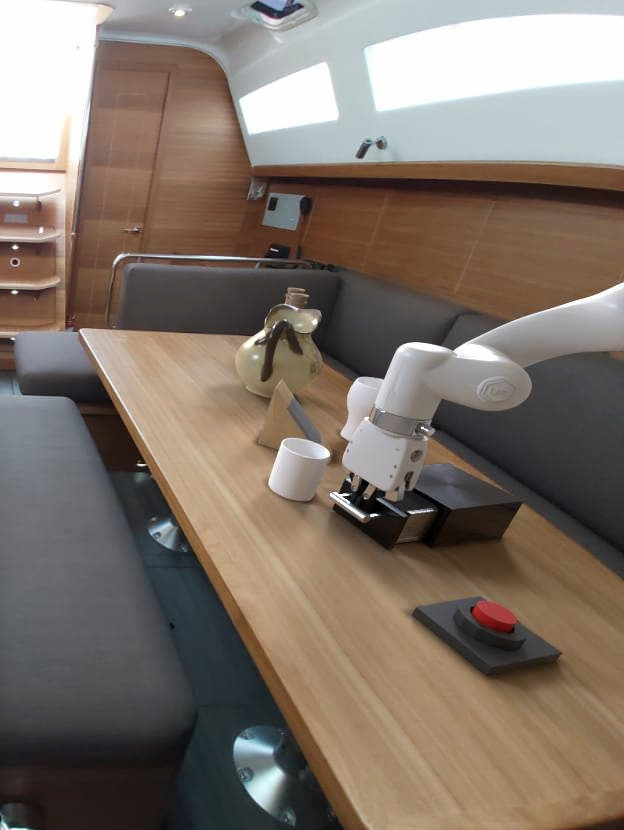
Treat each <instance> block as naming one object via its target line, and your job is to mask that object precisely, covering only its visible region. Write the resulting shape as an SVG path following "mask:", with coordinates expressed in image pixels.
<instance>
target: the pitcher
mask: <svg viewBox="0 0 624 830" xmlns="http://www.w3.org/2000/svg"><path fill="white" fill-rule="evenodd" d="M322 317H323V316H322V314H321V311H320V309H314V308H306V309H298V308H295V307H293V306H290V305H286V304H285V303H279V304H277V305H275V306H273V307H271V308H270V310H269V312H268V313H267V316H266V317H265V320H264V322H263V325H264V326H263V327H264V328H263V329H261V330H260V331H259V332H257V333H256V334H254V335H253V336H251V337H249V338H248V339H246V341H244V342H243V343H242V344H241V345H240V346H239V348H238V350H237V351H236V353H235V362H234V363H235V368H236V371H237V374H238V375H239V378H240V379H241V381H242V382H243V383H244V384H245V389H247V390H248V391H249V392H250V393H252V394H255V395H257V396H260V397H264V398H269V399H272V396H273V393H274V390H275V388H276V387H277V385H278V384H279V382H280V381H281V379H283V381H284V382H285V384H286V385H287V387H288V388H289V390H290V391H291V393H292V394H293V395H296V394H298V393H300V392H302V391H304V390H306V389H307V388H309V387H310V386H311V385H313V384H314V383H315V382H316V381H317V380H318V378H319V377H320V375H321V373H322V371H323V356H322V354H321V351H320V350H319V348H318V347H317V345H316V344H315V342H314V340H313V338H312V334H313V333H314V332H315V331H316V330H317V329H318V325H320V323H321V320H322Z"/></svg>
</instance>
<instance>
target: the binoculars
mask: <svg viewBox="0 0 624 830" xmlns="http://www.w3.org/2000/svg"><path fill="white" fill-rule="evenodd" d="M305 292H306V290H305V289H304V288H300V287H288V288H287V293H285V302H284V304H286V305H290V306H293V307H295V308H298V309H304V308H305V306H306V305H307V304H308V302H307V300H308V299H309V297H310V295H309V294H305Z"/></svg>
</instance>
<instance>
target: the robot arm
mask: <svg viewBox="0 0 624 830" xmlns="http://www.w3.org/2000/svg"><path fill="white" fill-rule="evenodd" d="M590 352H591V353H593V352H594V353H595V352H624V282H621V283H619V284H617V285H615V286H613V287H611V288H608V289H606V290H603V291H602V292H600V293H597V294H594V295H592V296H589V297H585V298H582V299H578V300H574V301H570V302H567V303H564V304H560V305H558V306H555V307H552V308H549V309H545V310H542V311H538V312H534V313H531V314H529V315H526V316H522V317H519V318H517V319H515V320H512V321H510V322H507V323H505V324H502V325H500V326H498V327H495V328H493V329H491V330H489V331H487V332H485V333H483V334H481V335H479V336H477V337H475V338H473V339H471V340H468V341H466V342H464V343H463V344H461V345H460V346H458V347H456V348H455V349H453V350H452V349H450V348H447V347H446V346H445V347H444V346H441V345H438V344H437V345H436V344H432V343H425V342H406V343H403V344H402V345H400V346H399V347H398V348H396V350H395V353H394V355H393V357H392V360H391V361H390V364H389V366H388V369H387V372H386V374H385V376H384V378H383V380H384V381H383V384H382V386H381V388H380V391H379V393H378V395H377V398H376V400H375V403H374V405H373V407H372V410H371V412H370V415H369V417H366V418H365V419H364V420H363V421H362V422H361V424H360V425H359V427H358V428H357V430H356V431H355V433H354V434H353V436H352V438H351V440H350V441H348V444H347V446H346V448H345V451H344V453H343V455H342V463H341V464H342V465H341V469H342V470H343V471H344V473H346V475H348V476H349V479H351V482H352V485H351V489H352V491H353V493H352V496H351V498H350V500H349V502H351V503H352V504H354V505H355V506H357V507H358V508H360V509H361V510H363V511H364V512H365V513H367V514H369V513H370V512H371V510H372V508H373V505H374V503H375V501H376V499H377V498H382V497H384V498H386V499H388V500H391V501H394V502H396V501H402V500H403V496H404V490H405V491H411V490H412V489H413V488H414V486H415V484H416V482H417V480H418V478H419V475H420V473H421V470H422V467H423V465H425V461H426V457H427V454H428V449H429V444H430V443H429V442H430V438H429V437H432V436H433V435H434V434H435V432H436V429H435V428H433V427H432V426H431V424H432V422H433V417H434V415H435V413H436V412H437V409H438V407H439V406H440V403H441V401H442V399H443V400H445V401H449V402H452V403H455V404H457V405H462V406H465V407H468V408H471V409H475V410H479V411H487V412H501V411H506V410H510V409H513V408H515V407H518V406H519V405H521V404H523V403H524V402H525V401H526V400H527V399H528V397H529V396H530V394H531V392H532V388H533V385H532V384H533V383H532V380H531V377H530V375H529V373H528V372H527V371H526V370H525V368H527V367H529V366H532V365H535V364H537V363H540V362H543V361H547V360H549V359H553V358H557V357H562V356H566V355H567V356H568V355H573V354H578V353H590Z"/></svg>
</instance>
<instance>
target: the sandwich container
mask: <svg viewBox="0 0 624 830" xmlns="http://www.w3.org/2000/svg"><path fill="white" fill-rule="evenodd" d="M288 438H298V439H304V440H308V441H312V442H314V443H317V444H319V445H321V446H323V447H324V448H326V449H327V450H328V451H329V452H330V457H329V459H328V462H327V464H326V465H330V463H331V460H332V458H333V450H332V448H331V447H330V446H329V444H328V442H326V439H324V437H323V436H322V434H321V433H320V432H319V431H318V429H317V427H316V426H315V424H313V422H312V420H311V419H310V418H309V416H308V414H307V413H306V411H305V410H304V409H303V407H302V406H301V404H300V403H299V401H298V400H297V399H296V397H295V396H294V394H292V393H291V391H290V390H289V388H288V387H287V385H286V384H285V382H284V381H283V379H281V381H280V382H279V384H278V385H277V387H276V388H275V390H274V393H273V396H272V398H270V402H269V406H268V409H267V413H266V416H265V418H264V423H263V425H262V428H261V432H260V435H259V438H258V442H257V444H258V445H262V446H265V447H268V448H272V449H274V450H277V451H279V449H280V446H281V443H282V441H283V440H284V439H288Z"/></svg>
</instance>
